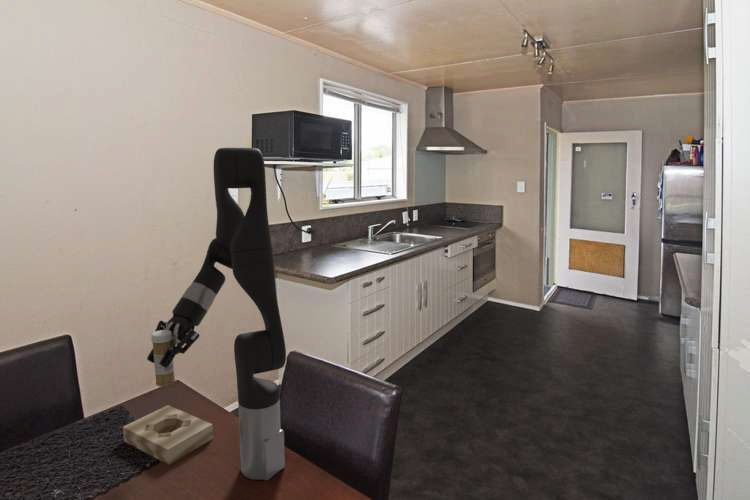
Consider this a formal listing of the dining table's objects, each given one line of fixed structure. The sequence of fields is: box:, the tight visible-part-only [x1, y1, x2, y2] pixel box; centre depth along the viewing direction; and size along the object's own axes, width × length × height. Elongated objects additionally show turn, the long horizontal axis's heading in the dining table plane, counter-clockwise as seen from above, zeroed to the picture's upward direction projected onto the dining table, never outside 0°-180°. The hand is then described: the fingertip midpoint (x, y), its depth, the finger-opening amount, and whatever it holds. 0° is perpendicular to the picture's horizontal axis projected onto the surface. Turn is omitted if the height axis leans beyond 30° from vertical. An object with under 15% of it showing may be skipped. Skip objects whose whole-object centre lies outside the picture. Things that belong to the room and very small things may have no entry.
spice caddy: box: [122, 404, 214, 466], centre depth 122 cm, size 18×13×4 cm
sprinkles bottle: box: [150, 330, 176, 388], centre depth 119 cm, size 5×5×14 cm
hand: (156, 363), depth 117 cm, fingers closed on sprinkles bottle, 4 cm apart
